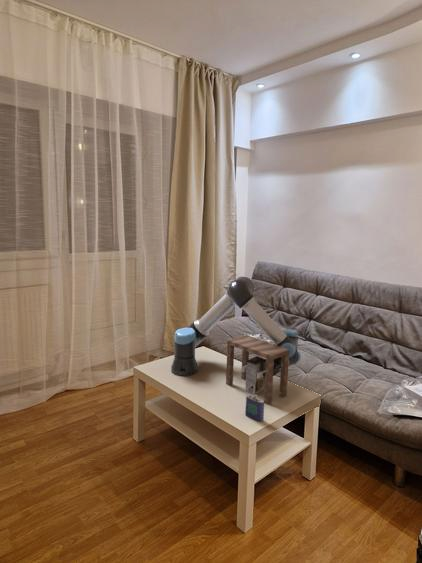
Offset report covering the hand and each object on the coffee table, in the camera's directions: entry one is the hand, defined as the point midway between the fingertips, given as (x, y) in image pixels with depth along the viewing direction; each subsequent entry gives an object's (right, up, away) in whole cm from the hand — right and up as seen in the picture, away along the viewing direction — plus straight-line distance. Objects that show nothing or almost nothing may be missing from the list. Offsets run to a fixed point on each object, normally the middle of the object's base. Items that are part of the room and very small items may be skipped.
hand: (250, 372), depth 188 cm
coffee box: (+3, -10, +5) cm, 12 cm away
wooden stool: (+3, -10, +5) cm, 11 cm away
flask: (-1, -15, -22) cm, 27 cm away
